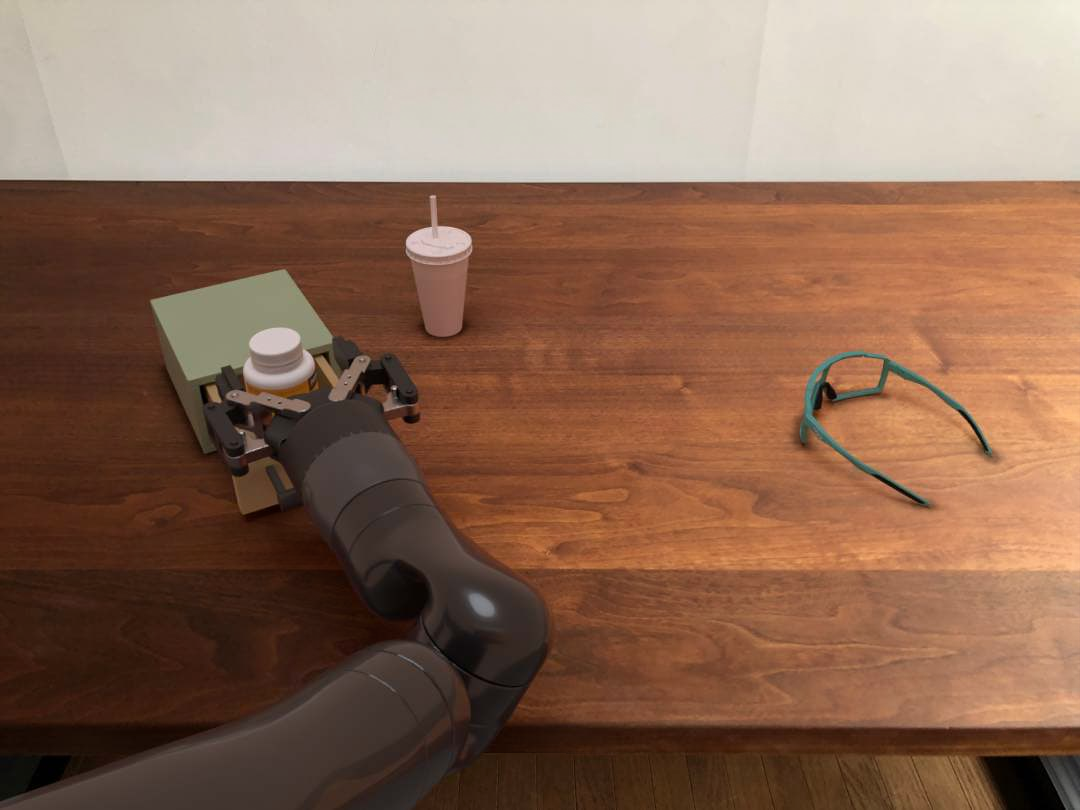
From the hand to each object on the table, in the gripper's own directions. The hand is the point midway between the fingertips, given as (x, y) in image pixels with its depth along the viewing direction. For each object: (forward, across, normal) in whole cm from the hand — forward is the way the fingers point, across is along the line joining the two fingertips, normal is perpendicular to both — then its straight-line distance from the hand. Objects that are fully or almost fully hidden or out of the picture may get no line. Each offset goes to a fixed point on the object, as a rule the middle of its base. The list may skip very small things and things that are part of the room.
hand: (283, 360), depth 79 cm
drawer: (+2, 0, -11) cm, 11 cm away
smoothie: (+17, +20, -12) cm, 29 cm away
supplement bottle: (+3, 0, -10) cm, 11 cm away
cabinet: (+15, 0, -12) cm, 19 cm away
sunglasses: (-18, +46, -12) cm, 51 cm away
